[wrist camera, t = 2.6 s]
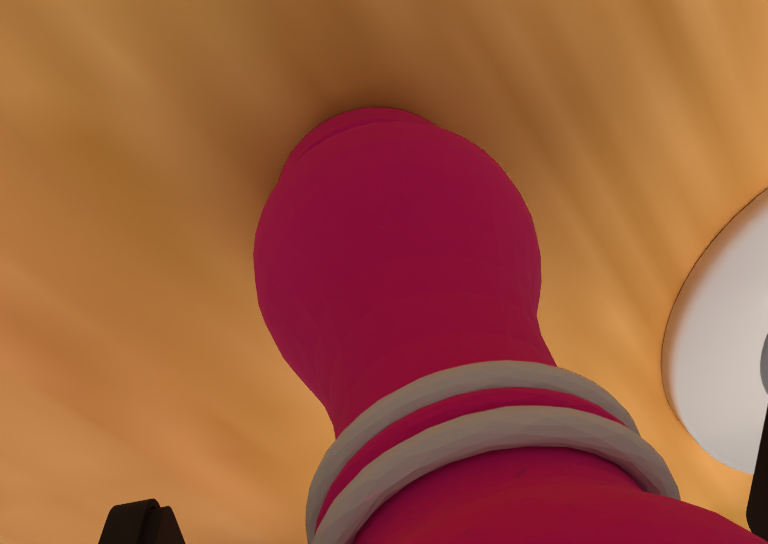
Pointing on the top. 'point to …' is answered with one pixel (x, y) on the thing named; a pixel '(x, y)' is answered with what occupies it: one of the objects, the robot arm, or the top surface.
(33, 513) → the top surface
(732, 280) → the mount plate
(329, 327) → the pepper mill
